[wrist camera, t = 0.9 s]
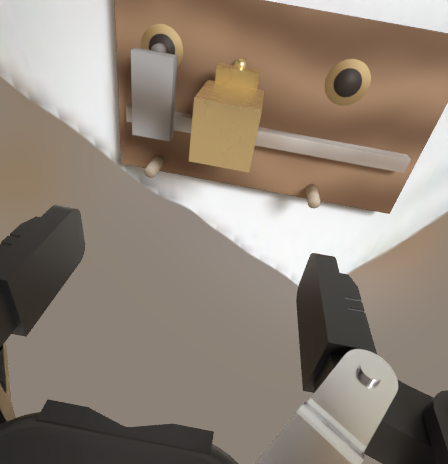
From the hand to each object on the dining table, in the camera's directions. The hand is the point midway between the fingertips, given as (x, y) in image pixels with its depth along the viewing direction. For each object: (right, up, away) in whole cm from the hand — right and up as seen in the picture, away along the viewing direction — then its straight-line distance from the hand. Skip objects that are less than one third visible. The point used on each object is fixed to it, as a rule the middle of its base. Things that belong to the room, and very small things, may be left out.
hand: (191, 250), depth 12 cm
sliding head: (+2, +11, +15) cm, 18 cm away
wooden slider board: (+5, +11, +16) cm, 20 cm away
